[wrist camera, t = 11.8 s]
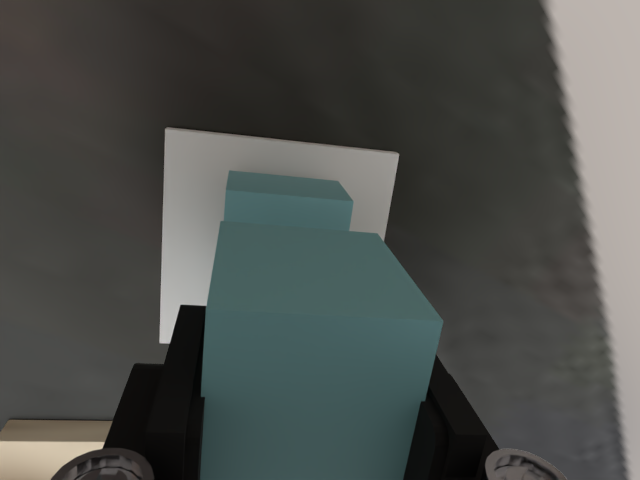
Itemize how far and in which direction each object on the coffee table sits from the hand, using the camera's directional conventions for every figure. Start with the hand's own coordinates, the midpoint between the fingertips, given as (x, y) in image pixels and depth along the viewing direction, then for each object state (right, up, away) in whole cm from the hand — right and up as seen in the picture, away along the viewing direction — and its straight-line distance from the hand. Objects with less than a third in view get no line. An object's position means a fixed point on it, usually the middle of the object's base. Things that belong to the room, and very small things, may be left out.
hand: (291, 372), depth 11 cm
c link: (-1, +2, +6) cm, 7 cm away
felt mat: (-1, +3, +8) cm, 8 cm away
